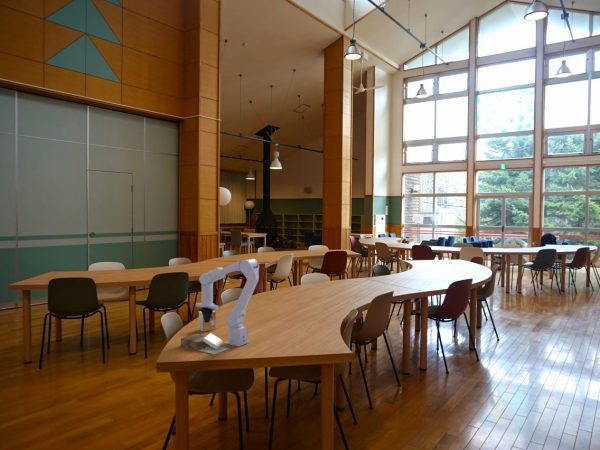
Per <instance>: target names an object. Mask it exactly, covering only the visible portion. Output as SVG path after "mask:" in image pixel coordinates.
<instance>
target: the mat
mask: <svg viewBox="0 0 600 450" xmlns="http://www.w3.org/2000/svg"><path fill="white" fill-rule="evenodd" d="M228 349H229V350H230V348H229V347H225V346H222V345H221V346H220V347H219V348H218V349H217V350H216V349H215V348H213V347H211V346H210V347H207V348H204V349H201V350H199V352H202V353H206V354H209V353H210V354H209V355H213V354H214V355H215V354H216V355H218V354H221V353H223V352H225V350H226V351H228ZM220 352H221V353H220Z"/></svg>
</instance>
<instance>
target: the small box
mask: <svg viewBox="0 0 600 450" xmlns="http://www.w3.org/2000/svg"><path fill="white" fill-rule="evenodd" d="M216 316H217V313H216V310H213V312H212V314H211V317H210V321H209V322H207V323H206V322H205V320H204V317H203V314H202V312H201V311H198V330H199V331H201V332H202V333H204V332H207V331H208V332H209V331H215V330H216V324H217V322H216V319H217V317H216Z"/></svg>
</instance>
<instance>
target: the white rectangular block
mask: <svg viewBox="0 0 600 450" xmlns="http://www.w3.org/2000/svg"><path fill="white" fill-rule="evenodd" d="M205 336H206V337H205V338H204V340H203V342H205V343H207V344H208V345H210V346H211V347H213V348H215V349H216V350H217V349H218V348H219V347H220V346H221V347H222V345H224V343H225V341H224V340H222V338H219V337H218V336H216V335H215V334H213V333H209V334H208V335H205Z"/></svg>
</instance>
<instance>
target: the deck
mask: <svg viewBox="0 0 600 450" xmlns="http://www.w3.org/2000/svg"><path fill="white" fill-rule="evenodd" d="M206 336H207V335H204V334H200V333H199V334H198V333H193V334H191V335H190V334H189V335H188V336H184V337H181V338H180V346H181V348H186V349H191V350H194V351H200V350H201V349H204V348H206V347H209V346H210V345H208V344H207V343H205V342H203V340H204V338H205V337H206Z"/></svg>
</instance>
